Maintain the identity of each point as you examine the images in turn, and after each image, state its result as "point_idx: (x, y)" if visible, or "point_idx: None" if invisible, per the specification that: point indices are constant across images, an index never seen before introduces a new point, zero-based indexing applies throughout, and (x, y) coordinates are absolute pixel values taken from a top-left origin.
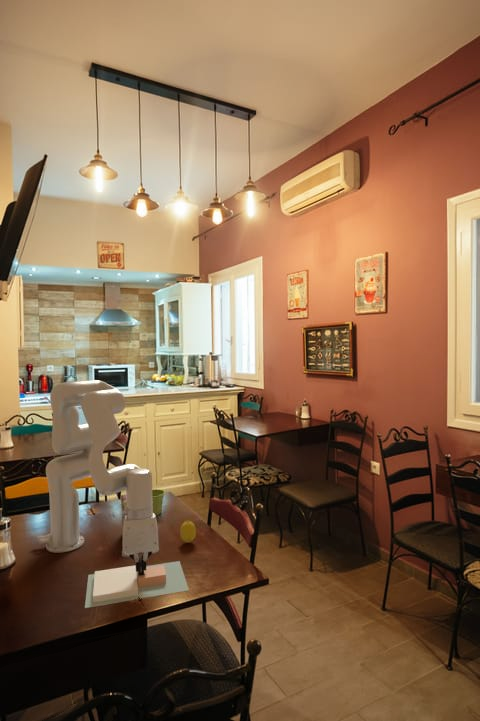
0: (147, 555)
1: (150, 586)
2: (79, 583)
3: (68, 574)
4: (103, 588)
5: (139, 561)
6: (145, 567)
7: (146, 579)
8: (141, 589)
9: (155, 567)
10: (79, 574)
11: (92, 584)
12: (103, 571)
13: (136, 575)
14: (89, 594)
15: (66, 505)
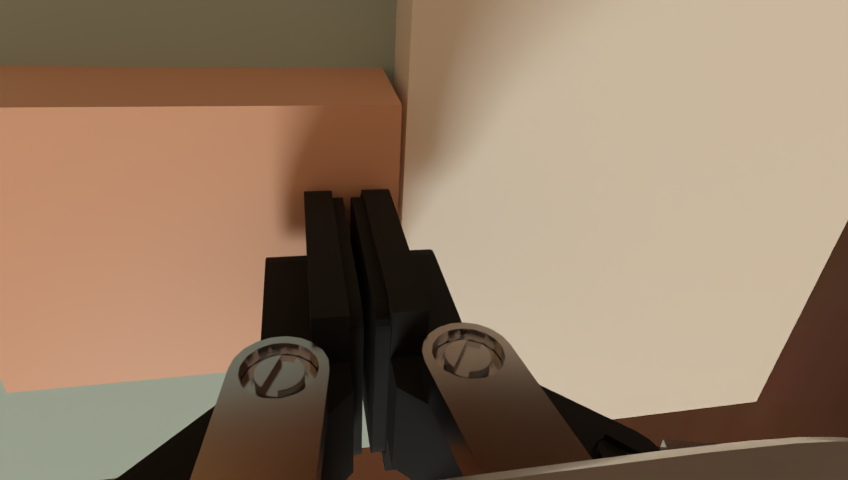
0: (208, 447)
1: (213, 42)
2: (839, 309)
3: (843, 426)
4: (825, 66)
5: (401, 351)
6: (278, 277)
7: (267, 95)
8: (344, 3)
9: (132, 352)
10: (788, 417)
11: None
12: (696, 390)
13: None
14: None
15: None
